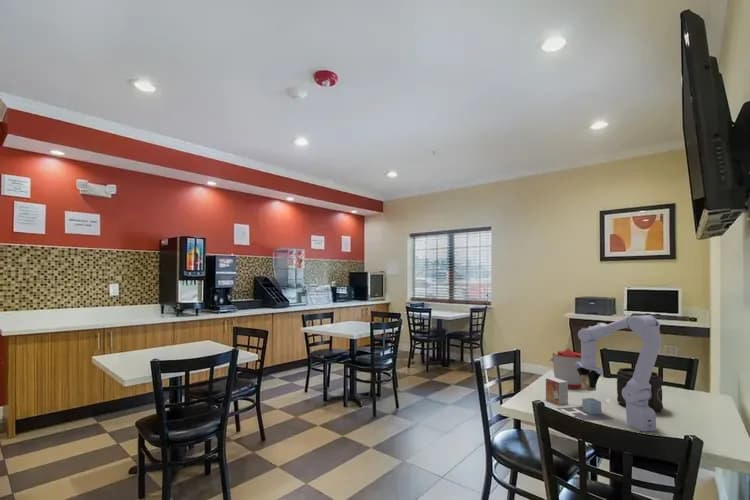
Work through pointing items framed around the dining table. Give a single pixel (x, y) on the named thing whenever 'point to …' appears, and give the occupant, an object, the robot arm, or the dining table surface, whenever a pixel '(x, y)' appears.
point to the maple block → (586, 383)
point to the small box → (557, 390)
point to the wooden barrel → (654, 381)
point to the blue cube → (591, 406)
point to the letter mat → (583, 414)
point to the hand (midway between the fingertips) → (589, 386)
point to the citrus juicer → (567, 367)
